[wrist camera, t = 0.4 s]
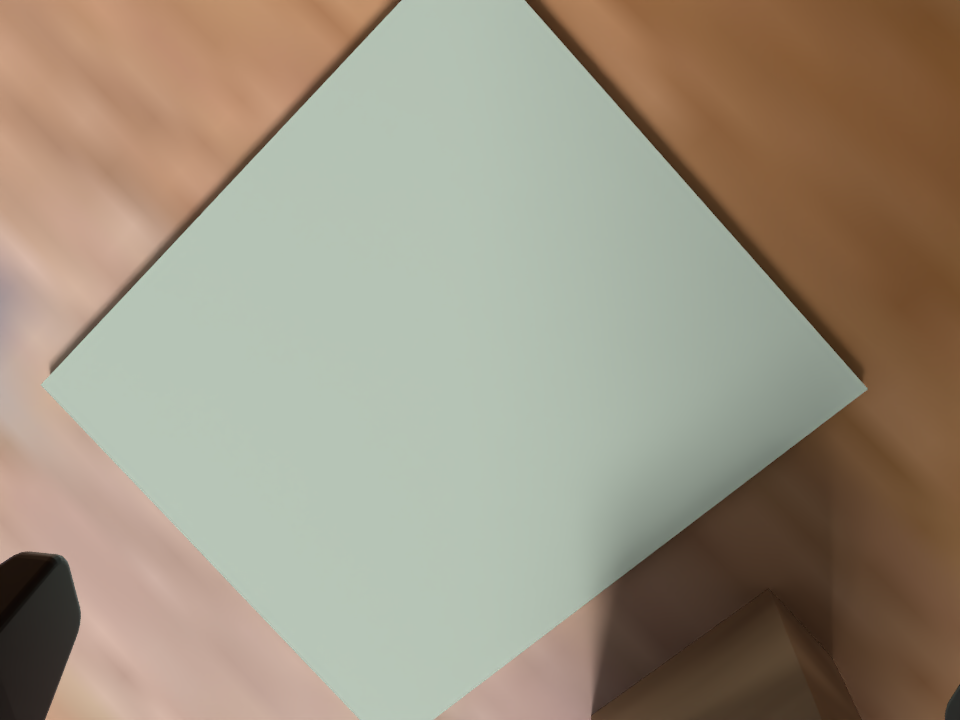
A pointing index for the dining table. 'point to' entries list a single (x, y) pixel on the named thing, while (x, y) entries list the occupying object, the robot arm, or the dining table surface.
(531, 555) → the mat
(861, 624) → the dining table surface
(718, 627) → the walnut slab
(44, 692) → the robot arm
